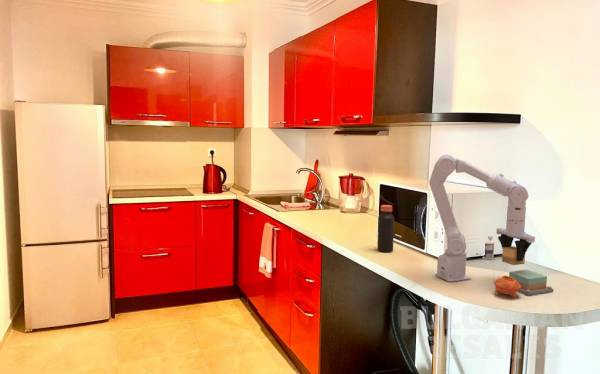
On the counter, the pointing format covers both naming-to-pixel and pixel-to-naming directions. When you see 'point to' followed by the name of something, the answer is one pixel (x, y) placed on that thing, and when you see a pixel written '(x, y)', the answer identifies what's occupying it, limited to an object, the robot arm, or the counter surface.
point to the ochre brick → (511, 256)
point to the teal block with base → (531, 282)
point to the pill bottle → (489, 249)
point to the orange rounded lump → (507, 285)
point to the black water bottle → (385, 229)
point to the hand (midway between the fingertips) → (513, 258)
